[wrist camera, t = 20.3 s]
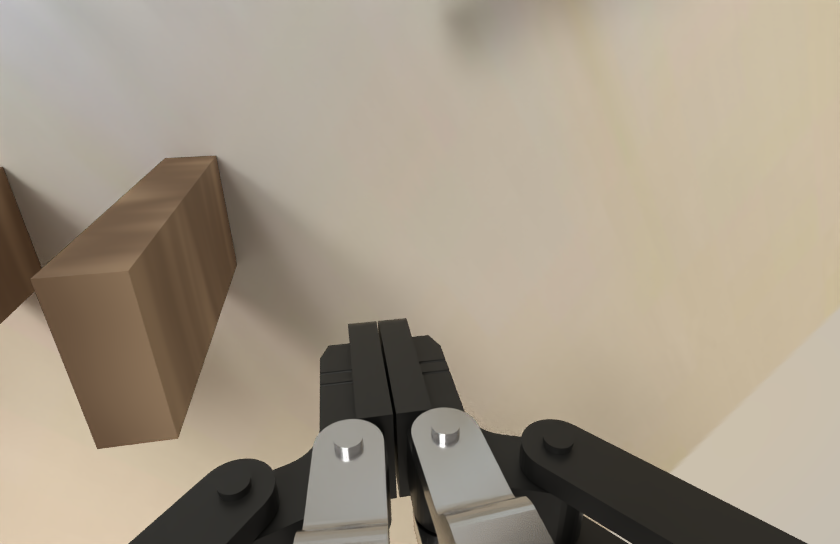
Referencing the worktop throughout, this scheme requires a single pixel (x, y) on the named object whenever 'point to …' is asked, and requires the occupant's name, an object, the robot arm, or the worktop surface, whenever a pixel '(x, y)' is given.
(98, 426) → the domino
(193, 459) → the worktop surface
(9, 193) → the domino
